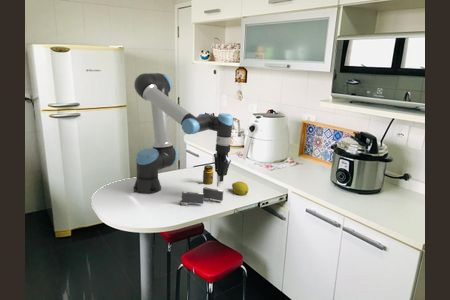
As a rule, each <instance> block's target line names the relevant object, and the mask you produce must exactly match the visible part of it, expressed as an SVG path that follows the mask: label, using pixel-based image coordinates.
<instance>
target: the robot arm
mask: <svg viewBox="0 0 450 300" xmlns="http://www.w3.org/2000/svg"><path fill="white" fill-rule="evenodd" d="M133 84H134V89H135V92H136V94H137V95H138V96H139V97H141V98H142V99H143V100H144V101H149V102H150V105H151V106H150V107H151V115H152V116H151V117H152V124H153V125H152V127H153V135H154V144H153V145H152V148H151V147H150V148H143V149H141V150H139V151H138V152H137V153H136V159H135V161H136V164H135V165H136V178H135V182H134V184H133V185H134V186H133V193H137V194H142V195H151V194H155V193H156V194H157V193H158V192H161V190H162V185H161V182H160V179H159V171H160V170H163V169H166V168H170V167H171V166H173V165H175V164H176V162H177V160H178V155H179V154H178V153H179V152H178V150H177V149H176V147H174V144H173V143H172V142H171V139H170V127H169V118H168V116H169V117H170V118H171V119H173V120H174V121H175V122H176V123H178V124H179V125H180V126H181V129H182V131H183V133H184V134H187V135H194V134H199V133H200V132H204V131H209V130H210V131H214V132H216V138H215V139H216V142H215V143H216V144H215V151H216V153H213V158H214V160H213V161H214V172H215V173H216V176H217V177H216V179H217V180H216V187H217V188H220V187H223V183H224V176H227V175H228V170H229V167H230V164H231V162H232V160H231V159H229V153H230V151H231V144H232V130H233V124H234V122H233V120H234V119H233V118H234V117H233V115H232V114H230V113H219V114H218V115H217V116H216V115H212V114H211V115H210V114H207V113H200V114H198V115H197V116H195V115H193V114H192V113H191V112H190V111H188V110H187V109H186V108H184V107H183V106H181V105H180V104H179V103H177V102H176V101H175V100H173V99H172V98H170V95H169V94H170V92H171V91H172V88H173V84H172V80H171V78H170V77H169V76H168V75H167V74H165V73H159V72H155V73H154V72H151V73H150V72H149V73H141V74H139V75H138V76H137V77H136V78H135V80H134V82H133Z"/></svg>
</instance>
